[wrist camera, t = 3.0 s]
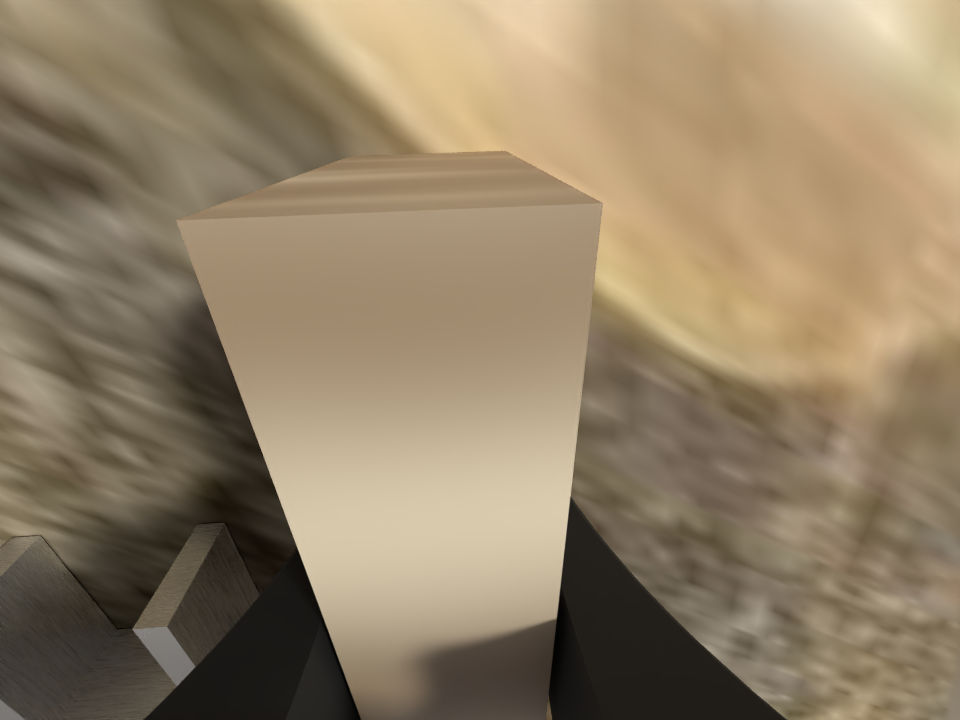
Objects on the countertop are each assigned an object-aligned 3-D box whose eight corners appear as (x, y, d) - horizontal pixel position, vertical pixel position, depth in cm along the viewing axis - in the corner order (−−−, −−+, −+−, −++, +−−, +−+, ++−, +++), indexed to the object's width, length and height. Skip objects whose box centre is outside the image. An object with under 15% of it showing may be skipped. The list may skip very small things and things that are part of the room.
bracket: (332, 632, 16) (276, 882, 11) (55, 655, 15) (-145, 927, 10) (290, 517, 13) (182, 791, 8) (-59, 542, 12) (-429, 851, 7)
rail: (504, 584, 15) (533, 826, 10) (420, 591, 15) (406, 840, 10) (505, 151, 8) (603, 201, 3) (350, 156, 8) (174, 219, 3)
